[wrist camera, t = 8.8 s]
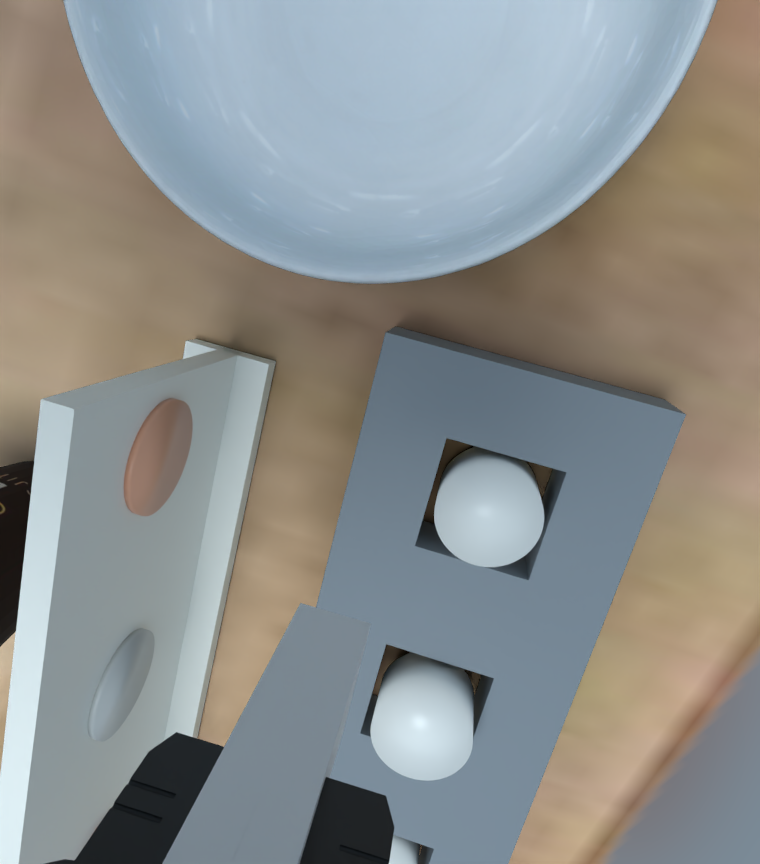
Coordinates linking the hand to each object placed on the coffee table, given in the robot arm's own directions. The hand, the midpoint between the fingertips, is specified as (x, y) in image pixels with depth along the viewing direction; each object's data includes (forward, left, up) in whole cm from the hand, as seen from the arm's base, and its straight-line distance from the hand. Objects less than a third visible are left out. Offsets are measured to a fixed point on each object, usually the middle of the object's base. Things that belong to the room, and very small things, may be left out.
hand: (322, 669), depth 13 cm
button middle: (+11, +4, -15) cm, 19 cm away
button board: (+11, +4, -17) cm, 21 cm away
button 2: (+1, +4, -16) cm, 17 cm away
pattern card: (+11, -9, -17) cm, 22 cm away
